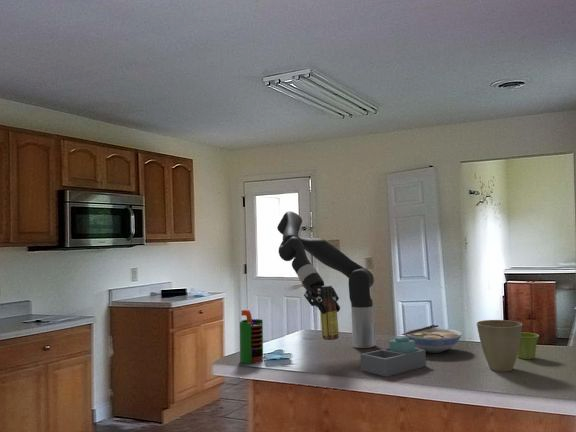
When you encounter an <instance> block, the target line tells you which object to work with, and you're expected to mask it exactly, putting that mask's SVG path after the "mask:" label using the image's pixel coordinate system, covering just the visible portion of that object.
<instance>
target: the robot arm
mask: <svg viewBox="0 0 576 432" xmlns="http://www.w3.org/2000/svg"><path fill="white" fill-rule="evenodd" d="M302 223H303V219H302V217H301V216H300V215H299V214H298V213H296V212H294V211H290V210H289V211H286V212H285V213H284V214H283V216H282V218H281V220H280V221H279V223H278V224H277V227H276V229H277V231H278V232H279V233H280V234H281V235H282V241H281V242H280V245H279V247H278V254H279V258H281V260H282V261H284V262H291V268H292V269H293V271H294V272H295V273H296V275H297V277H298V279H299V281H300V283H301V284H302V286H303V287H304V289H305V292H304V294H303V296H304V298H305V299H306V300H307V301H308V303H309V305H310V306H311V307H314V306H315V307H316V308H318V310H319V312H321V313H322V314H325V313H326V312H327V310H326V308H325V307H324V305H323V304H322V303H321V301H322V299H323V298H322V296H323V295H322V289H321V287H322V286H325V282H324V280H323V278H322V277H321V275H320V273H319V272H318V271H317V269H316V268H315V267H314V266H313V264H312V263H311V262H310V260H309V259H308V256H307V253H306V252H308V253H309V254H310V255H312V257H314V258H315V259H316V260H317V261H319V262H321V264H323V265H325V266H326V267H328V268H331V269H333V270H335V271H337V272H339V273H341V274H343V275H344V276H346V278H348V294H349V301H350V307H351V330H352V331H351V333H352V347H354V348H355V349H369V348H373V347H375V346H376V345H377V344H376V343H377V341H376V339H377V338H376V324H375V322H374V309H373V307H374V305H373V304H374V303H373V299H372V297H371V292H370V291H371V287H372V286H373V285H374V284H375V283H374V281H375V277H374V275H373V273H372V272H371V271H370V270H369V269H367V268H365V267H363V266H362V265H360V264H359V263H358V262H357V263H356V261H354V260H352V259H351V258H349V257H348V256H347V255H346V254H345V253H344V252H342V251H341V250H339V248H337V247H336V246H335V245H333V244H332V243H330V242H329V241H328V240H326V239H324V238H318V237H317V238H316V237H315V238H312V237H304V236H301V235H300V229H301V226H302ZM332 296H333V299H334V301H335V303H336V309H337V313H338V312H340V310H341V306H340V305H339V303H338V300H339V299H340V297H339V295H338V294H337V292H336V290H335V288H334V287H332ZM321 313H320V314H321Z"/></svg>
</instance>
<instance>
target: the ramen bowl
mask: <svg viewBox="0 0 576 432" xmlns="http://www.w3.org/2000/svg"><path fill="white" fill-rule="evenodd" d="M462 335H463V334H462V332H461V331H459V330H455V329H449V328H442V327H441V328H440V327H439V325H435V324H431V325H428V326H424V327H421V328H415V329H413V328H412V329H408V330H406V331H405V332H404V333H402V334H400V336H406V337H409V340H413V341H415V348H417V349H423V350H425V353H433V354H434V353H435V354H436V353H442V352H444V351H446V350H449V349H451V348H453V347H454V346H456V345H457V344H458V342H459V341H460V339H461V337H462Z"/></svg>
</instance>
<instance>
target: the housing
mask: <svg viewBox="0 0 576 432" xmlns="http://www.w3.org/2000/svg"><path fill="white" fill-rule="evenodd" d="M359 357H360V371H362V372H366V373H370V374H372V375H373V374H375V375H378V376H382V377H390V376H394V375H397V374H402V373H404V372H408V371H413V370H417V369H421V368H424V367H426V366H427V364H426V362H427V361H426V357H427V356H426V352H425V350H423V349H419V348H417V347H415V352H411V353H406V354H403V353H398V352H393V351H390V348H389V347H386V348H382V349H377V350H374V351H368V352H363V353H360V356H359Z"/></svg>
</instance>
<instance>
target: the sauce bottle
mask: <svg viewBox="0 0 576 432" xmlns="http://www.w3.org/2000/svg"><path fill="white" fill-rule="evenodd" d="M332 288H333V286H332V285H324V286H322V287H321V289H322V295H323V296H322V298H323V299H322V300H321V303H322V304H323V305H324V307H325V308H326V310H327V312H326V313H325V314H322V313H321V312H320V311H319V312H320V324H321V335H322V336H321V337H322V339H323V340H324V341H325V340H326V341H330V340H331V341H334V340H338V339H339V333H340V332H339V321H338V312H337V309H336V303H335V301H334V299H333V296H332Z"/></svg>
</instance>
